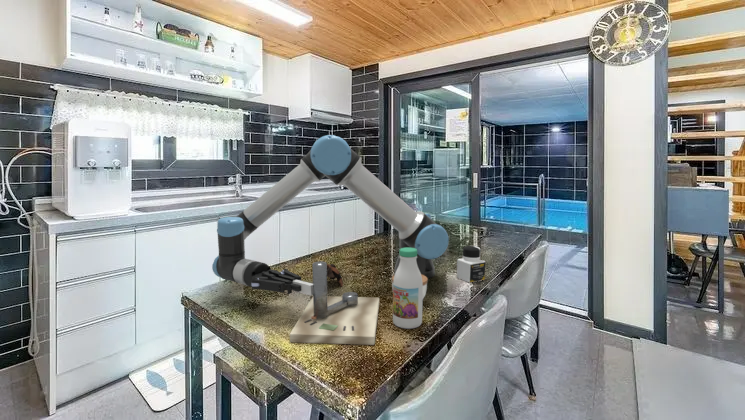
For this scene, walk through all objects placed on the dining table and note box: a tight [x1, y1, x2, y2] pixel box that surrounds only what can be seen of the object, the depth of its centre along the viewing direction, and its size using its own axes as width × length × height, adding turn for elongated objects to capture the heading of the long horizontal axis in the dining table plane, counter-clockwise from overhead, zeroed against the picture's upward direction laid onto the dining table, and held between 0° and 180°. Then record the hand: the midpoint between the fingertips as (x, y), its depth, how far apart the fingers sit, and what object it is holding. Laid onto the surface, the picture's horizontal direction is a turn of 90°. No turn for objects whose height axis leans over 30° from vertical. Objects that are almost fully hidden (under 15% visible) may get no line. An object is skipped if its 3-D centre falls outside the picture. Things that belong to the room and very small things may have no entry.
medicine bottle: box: [456, 245, 486, 284], centre depth 128 cm, size 7×7×12 cm
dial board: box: [289, 295, 380, 346], centre depth 95 cm, size 20×24×2 cm
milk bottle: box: [392, 247, 424, 330], centre depth 93 cm, size 8×8×20 cm
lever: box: [311, 260, 359, 320], centre depth 95 cm, size 16×4×14 cm, turn 140°
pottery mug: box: [327, 263, 344, 287], centre depth 123 cm, size 12×10×8 cm
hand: (312, 289), depth 92 cm, fingers closed
